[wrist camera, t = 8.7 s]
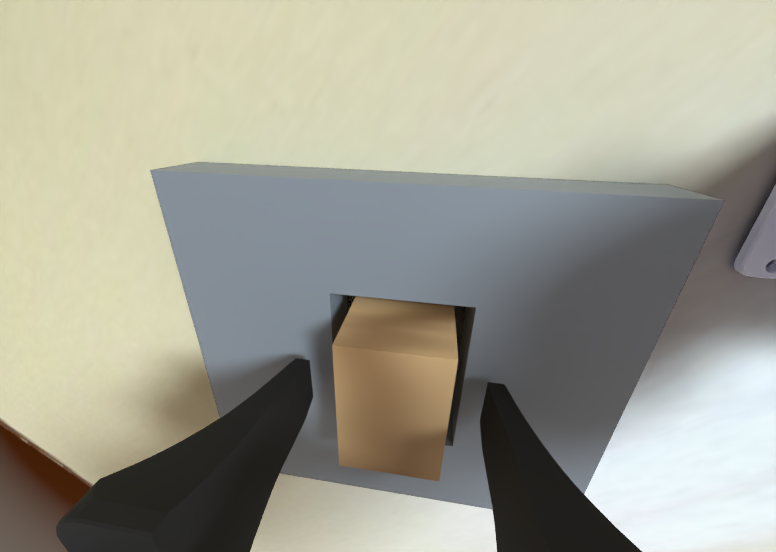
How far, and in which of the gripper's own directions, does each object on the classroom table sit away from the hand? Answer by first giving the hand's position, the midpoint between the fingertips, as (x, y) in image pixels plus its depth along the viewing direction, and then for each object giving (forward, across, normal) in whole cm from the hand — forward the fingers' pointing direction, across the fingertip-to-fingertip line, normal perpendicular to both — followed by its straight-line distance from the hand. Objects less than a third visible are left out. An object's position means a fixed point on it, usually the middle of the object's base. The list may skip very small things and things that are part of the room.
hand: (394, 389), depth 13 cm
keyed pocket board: (+3, 0, 0) cm, 3 cm away
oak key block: (+3, 0, 0) cm, 3 cm away
